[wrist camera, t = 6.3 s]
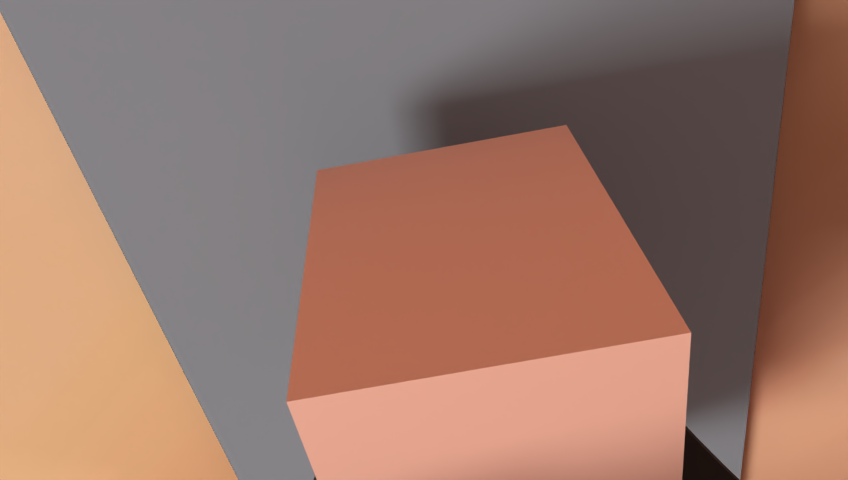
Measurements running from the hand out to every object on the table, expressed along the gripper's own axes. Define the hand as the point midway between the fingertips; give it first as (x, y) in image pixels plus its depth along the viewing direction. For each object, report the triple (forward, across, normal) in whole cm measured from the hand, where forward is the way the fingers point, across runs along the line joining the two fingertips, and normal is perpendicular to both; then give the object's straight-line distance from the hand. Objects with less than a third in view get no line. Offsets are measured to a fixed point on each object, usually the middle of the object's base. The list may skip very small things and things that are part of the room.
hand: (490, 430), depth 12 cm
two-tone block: (+1, 0, 0) cm, 1 cm away
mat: (+4, 0, 0) cm, 4 cm away
